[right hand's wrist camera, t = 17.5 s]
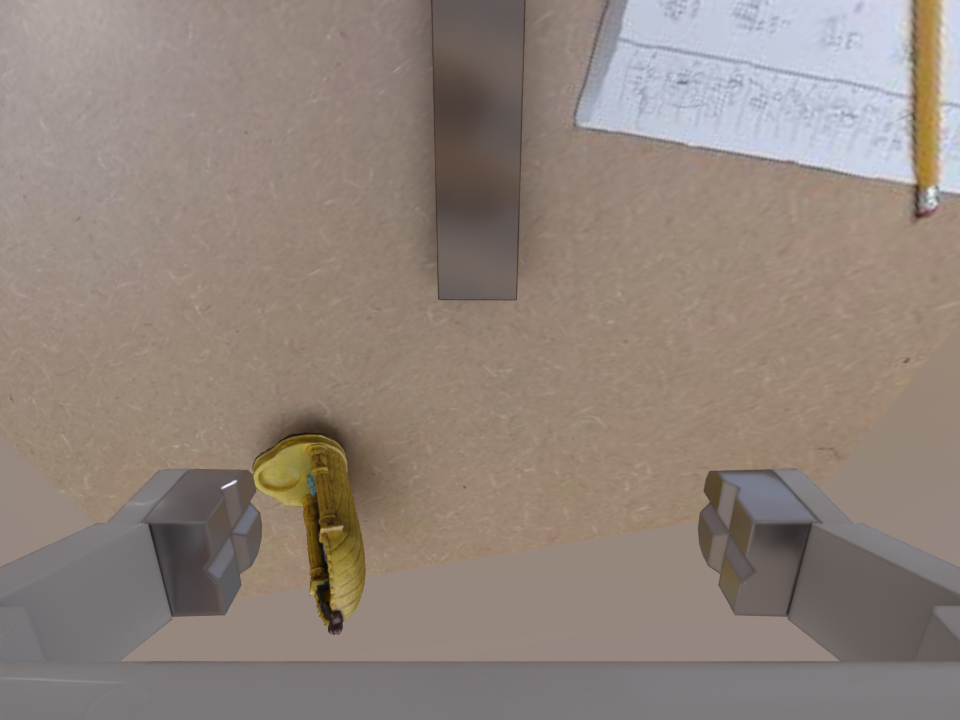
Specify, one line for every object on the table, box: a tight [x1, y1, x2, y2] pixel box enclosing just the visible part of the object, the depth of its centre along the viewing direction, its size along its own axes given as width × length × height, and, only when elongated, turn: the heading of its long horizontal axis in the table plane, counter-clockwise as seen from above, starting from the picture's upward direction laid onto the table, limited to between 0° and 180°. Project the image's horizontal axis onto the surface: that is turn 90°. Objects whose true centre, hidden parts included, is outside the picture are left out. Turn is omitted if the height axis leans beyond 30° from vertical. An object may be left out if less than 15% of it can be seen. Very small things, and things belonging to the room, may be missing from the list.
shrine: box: [253, 433, 366, 635], centre depth 43 cm, size 12×8×15 cm
